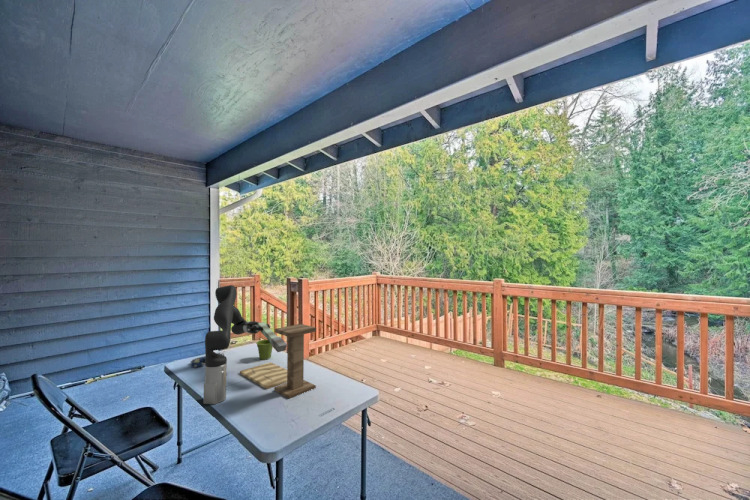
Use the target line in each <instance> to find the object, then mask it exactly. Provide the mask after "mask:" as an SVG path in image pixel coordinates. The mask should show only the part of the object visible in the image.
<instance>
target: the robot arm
mask: <svg viewBox="0 0 750 500" xmlns="http://www.w3.org/2000/svg"><path fill="white" fill-rule="evenodd" d="M237 293H238V292H237V288H236V286H234V285H231V284H230V285H225V286H220V287H217V288H216V289H215V293H214V295H215V299H216V300H217V303H218V305H217V306H216V308H215V310H214V314H213V321H214V322H215V324H216V325H217V326H218V328H220V329H221V330H212V331H207V332H206V334H205V337H204V347H205V348H204V349H205V352H204V354H205V355H204V356H205V363H204V365H205V366H204V367H205V371H204V383H203V402H202V403H203V405H204V404H205V405H217V404H218V403H222V402H223V401H225V400H227V367H228V366H227V363H228V362H227V361H228V360H227V356H225V355H224V356H223V354H222V355H219V354H217V353H218V352H217V353H216V352H215V351H223V350H227V349H228V348H229V346H230V344H231V335H232V334H231V333H233V334H234V335H242V334H245V333H246V334H253V335H257V334H258V333H259V332H261V331H263V327H258V326H257V325H258V323H260V322H259V321H255V320H254V321H252V320H251V321H247V320H246V319H245V318H243V315H242V314H241V311H240V310H239V308H238V307H236V306H235V302H236V300H237ZM232 324H233V325H232ZM265 324H266V325H267V326H268V327H269V328H270V329H271V326H270V324H268V323H265Z"/></svg>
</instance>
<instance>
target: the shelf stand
mask: <svg viewBox="0 0 750 500" xmlns="http://www.w3.org/2000/svg"><path fill="white" fill-rule="evenodd" d="M274 333H276V334H278V335H282V336H283V337H284V336H285V337H287V347H286V349H287V353H286V354H287V357H286V360H287V363H286V370H287V383H284V384H281V385H278V386H275V387H273V388H274V389H273V390H274V391H275V392H276V393H278V394H280V395H282V396H284V397H286V398H287V399H289V400H290V399H292V398H295V397H297V395H298V396H300V395H302V393H303V394H304V392H305V393H307V391H308V392H309V390H310V391H312V390H311V389H313V390H315V389H316V387H317V385H315V384H313V383H312V382H309V381H308V380H305V379H304V370H305V369H304V367H305V364H304V361H305V359H304V356H305V355H304V353H305V351H304V350H305V346H304V345H305V344H304V343H305V335H306V334H311V333H317V327H315V326H310V325H307V324H303V323H299V324H293V325H289V326H288V325H287V326H283V327H277V328H275V329H274ZM314 388H315V389H314Z"/></svg>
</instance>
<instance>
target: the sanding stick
mask: <svg viewBox="0 0 750 500" xmlns="http://www.w3.org/2000/svg"><path fill="white" fill-rule="evenodd" d="M266 324H267V323H266V322H265V321H262V322H259V323H258V325H257V326H258V327H263V331H260V333H261V334H262V335H263V336H264V337H265V338H266V340H268V341H269V342H270V343H271V345H272V346H273V347H272V349H273V348H274V350H275V351H276V352H277V353H280V352H284V351H286V349H287V347H288V343H287V341H285V340H284V339H283V338H282V337H281V336H277V334H275V331H273V330H272V329H271V327H270V328H269V327H268V326H267V325H266Z"/></svg>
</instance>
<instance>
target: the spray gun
mask: <svg viewBox="0 0 750 500" xmlns="http://www.w3.org/2000/svg"><path fill="white" fill-rule="evenodd" d="M217 354H219V355H223V356H225V353H220V352H217ZM190 363H191V364H190V365H191V368H200V367H203V366H204V365H205V355H204V356H201V357H196V358H193V359H191V360H190Z"/></svg>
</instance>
